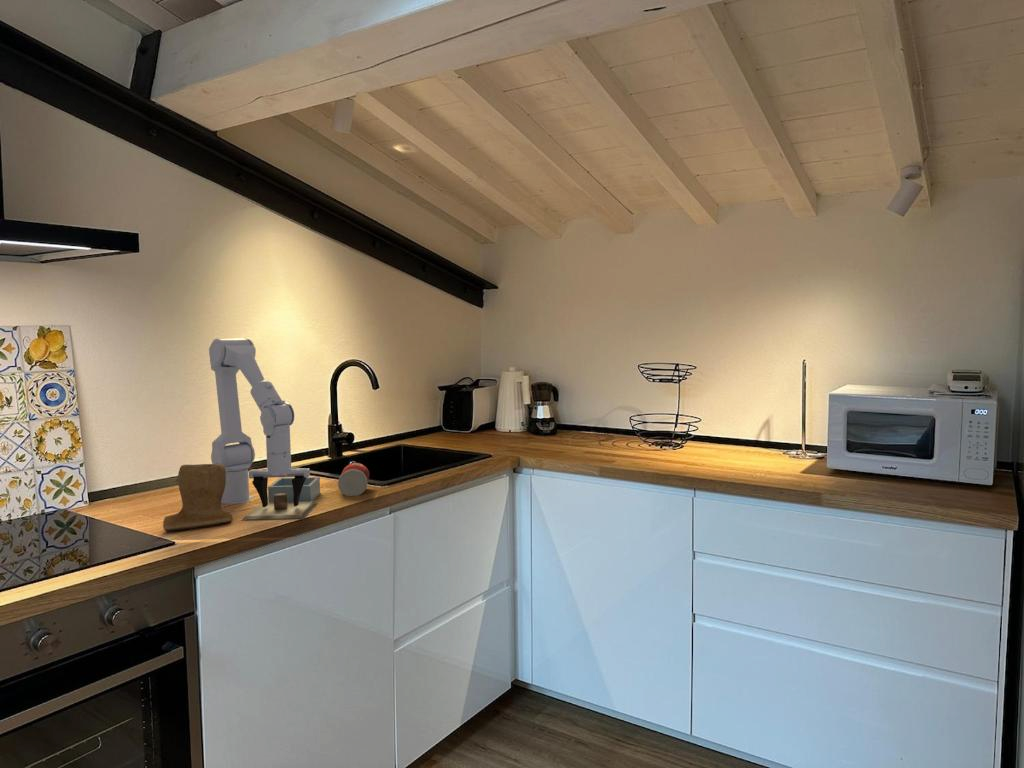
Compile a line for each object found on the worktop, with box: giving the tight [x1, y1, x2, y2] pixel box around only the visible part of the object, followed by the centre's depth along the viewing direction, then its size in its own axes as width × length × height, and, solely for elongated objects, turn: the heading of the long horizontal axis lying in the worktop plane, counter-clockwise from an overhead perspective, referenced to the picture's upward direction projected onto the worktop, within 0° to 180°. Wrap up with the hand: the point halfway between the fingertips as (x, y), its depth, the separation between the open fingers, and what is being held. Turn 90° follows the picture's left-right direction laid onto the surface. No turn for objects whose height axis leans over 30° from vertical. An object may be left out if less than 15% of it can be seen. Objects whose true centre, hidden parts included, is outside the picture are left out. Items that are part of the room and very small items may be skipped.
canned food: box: [337, 462, 370, 497], centre depth 194 cm, size 8×8×11 cm
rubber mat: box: [240, 502, 318, 522], centre depth 173 cm, size 15×15×1 cm
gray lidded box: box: [267, 476, 321, 503], centre depth 186 cm, size 11×11×5 cm
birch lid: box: [245, 493, 314, 519], centre depth 172 cm, size 13×13×4 cm
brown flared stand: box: [162, 463, 233, 532], centre depth 162 cm, size 15×12×15 cm
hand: (280, 505), depth 172 cm, fingers open, 7 cm apart
